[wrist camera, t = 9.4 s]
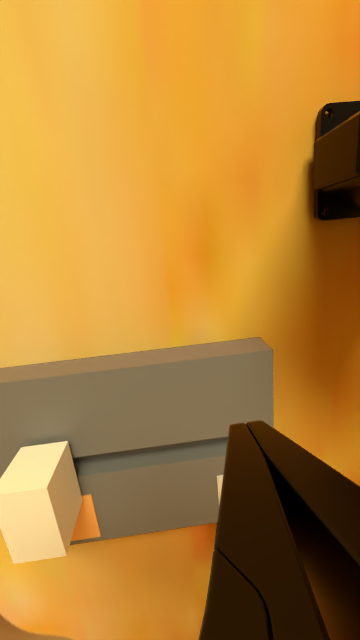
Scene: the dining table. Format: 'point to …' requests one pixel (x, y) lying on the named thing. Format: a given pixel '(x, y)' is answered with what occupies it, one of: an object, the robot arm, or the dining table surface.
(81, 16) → the dining table surface
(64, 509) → the fader
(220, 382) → the console
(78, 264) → the dining table surface
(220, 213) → the dining table surface
